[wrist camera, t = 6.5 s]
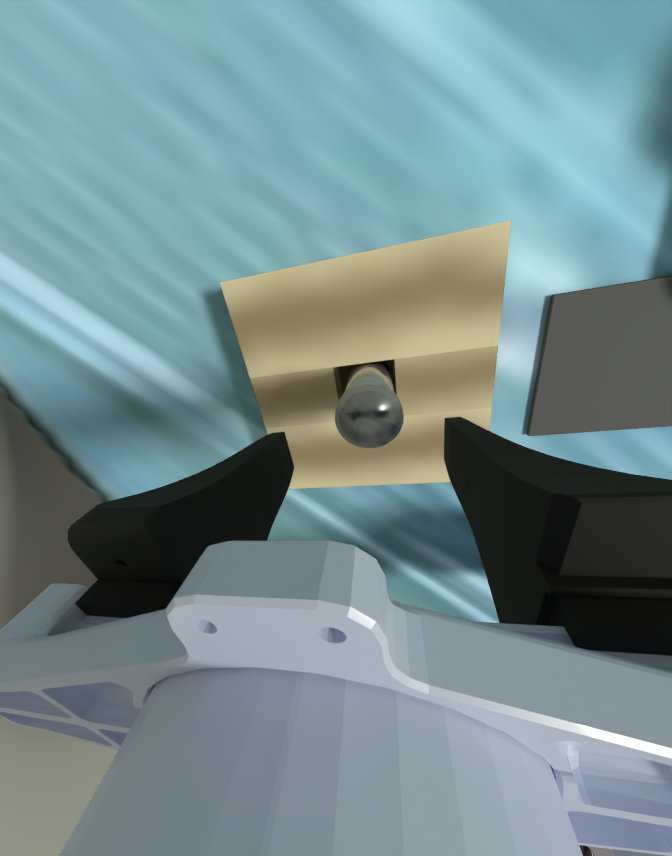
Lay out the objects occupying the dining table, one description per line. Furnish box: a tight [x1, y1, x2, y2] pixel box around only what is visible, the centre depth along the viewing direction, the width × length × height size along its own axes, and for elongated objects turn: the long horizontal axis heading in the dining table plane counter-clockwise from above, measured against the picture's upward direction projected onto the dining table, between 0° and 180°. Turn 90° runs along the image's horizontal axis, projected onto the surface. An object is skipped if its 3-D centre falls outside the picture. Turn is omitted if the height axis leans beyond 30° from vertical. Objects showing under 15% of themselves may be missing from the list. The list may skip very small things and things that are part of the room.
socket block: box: [220, 221, 511, 489], centre depth 19 cm, size 16×16×3 cm
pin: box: [335, 361, 404, 448], centre depth 17 cm, size 3×3×8 cm
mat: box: [527, 276, 672, 436], centre depth 18 cm, size 10×10×1 cm
